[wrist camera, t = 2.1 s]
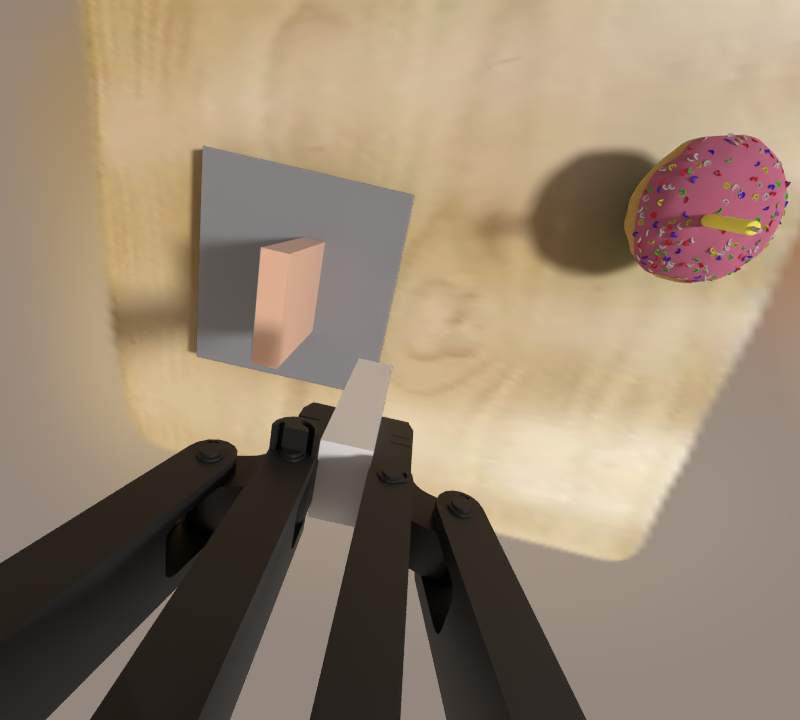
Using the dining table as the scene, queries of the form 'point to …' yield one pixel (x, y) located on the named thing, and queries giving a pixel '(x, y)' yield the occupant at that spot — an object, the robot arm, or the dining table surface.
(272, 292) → the tile
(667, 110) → the dining table surface
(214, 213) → the board
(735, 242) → the cupcake
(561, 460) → the dining table surface
